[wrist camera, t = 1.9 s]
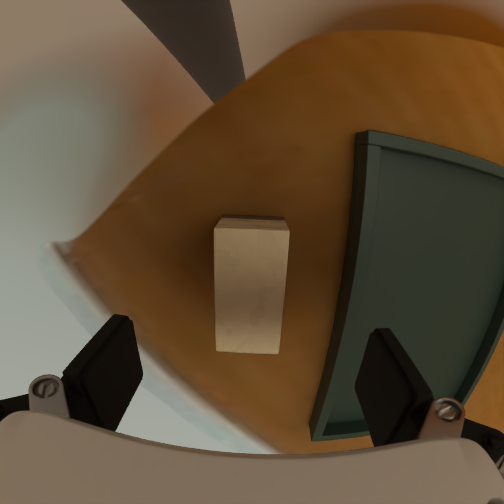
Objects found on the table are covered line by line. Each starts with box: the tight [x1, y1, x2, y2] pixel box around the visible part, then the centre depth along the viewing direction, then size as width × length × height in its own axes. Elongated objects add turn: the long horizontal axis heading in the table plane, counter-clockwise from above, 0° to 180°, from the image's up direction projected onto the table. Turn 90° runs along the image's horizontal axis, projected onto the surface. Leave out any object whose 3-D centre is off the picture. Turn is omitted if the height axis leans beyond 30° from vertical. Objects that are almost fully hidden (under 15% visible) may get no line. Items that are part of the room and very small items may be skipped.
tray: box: [309, 130, 504, 441], centre depth 17 cm, size 24×17×2 cm
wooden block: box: [214, 215, 290, 354], centre depth 16 cm, size 7×4×4 cm, turn 178°
